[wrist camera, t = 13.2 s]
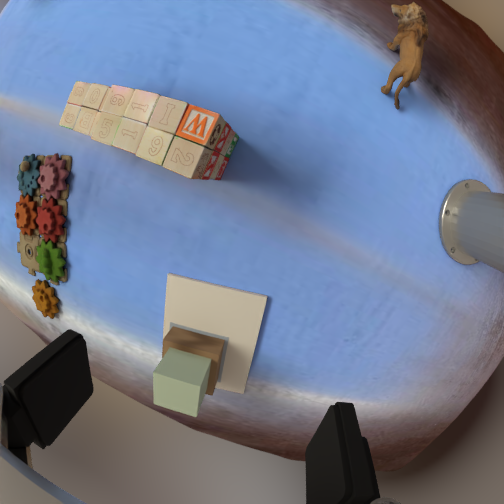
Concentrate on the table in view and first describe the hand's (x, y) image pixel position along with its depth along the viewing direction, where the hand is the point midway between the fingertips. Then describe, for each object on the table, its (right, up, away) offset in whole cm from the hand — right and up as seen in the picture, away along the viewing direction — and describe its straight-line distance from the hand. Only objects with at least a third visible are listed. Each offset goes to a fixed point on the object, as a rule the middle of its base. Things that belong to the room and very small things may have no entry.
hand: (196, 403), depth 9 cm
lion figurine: (+22, +32, +19) cm, 43 cm away
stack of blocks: (-10, +22, +26) cm, 35 cm away
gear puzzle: (-37, +8, +32) cm, 49 cm away
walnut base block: (-7, -10, +32) cm, 34 cm away
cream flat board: (-4, -8, +32) cm, 33 cm away
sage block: (-7, -11, +28) cm, 31 cm away
